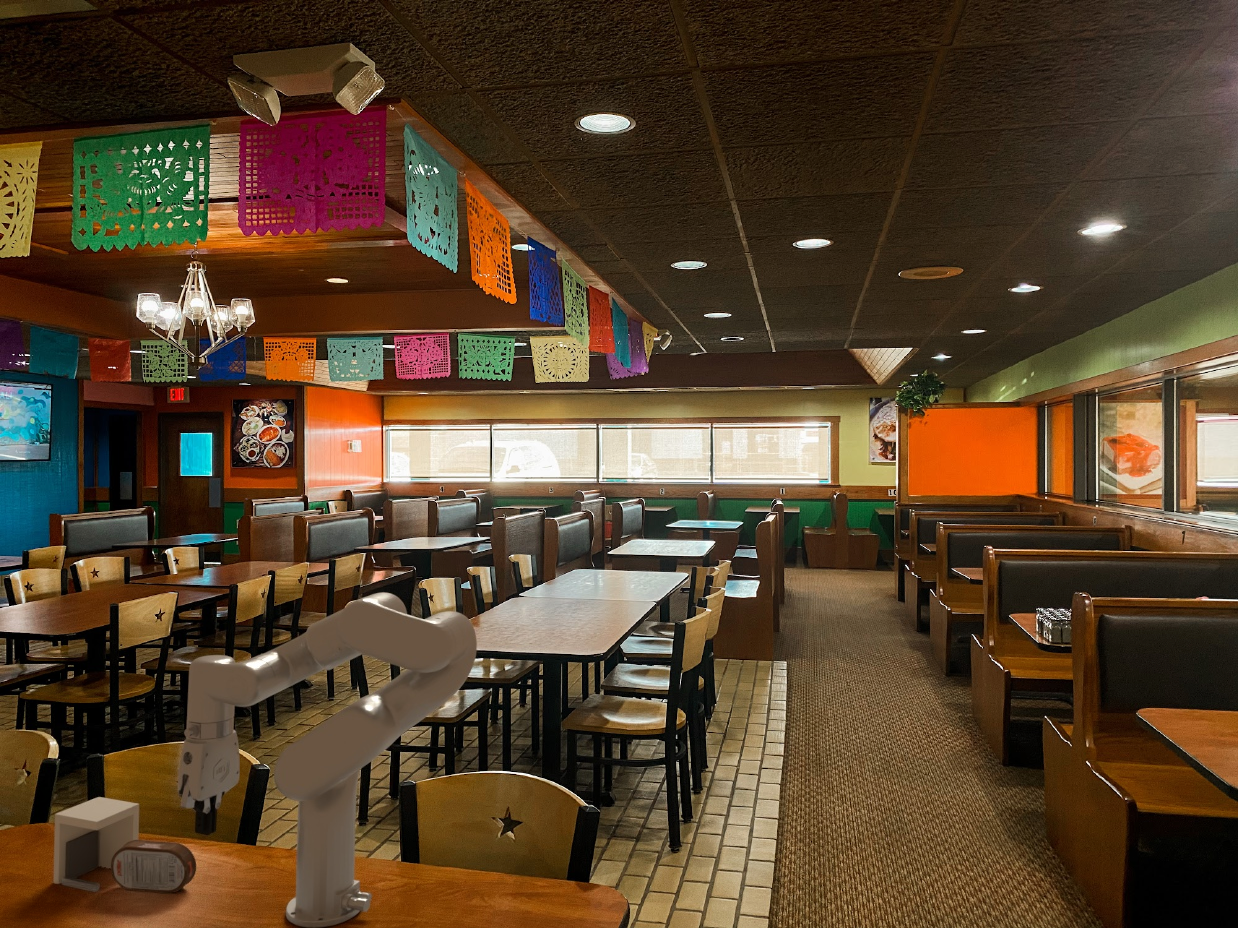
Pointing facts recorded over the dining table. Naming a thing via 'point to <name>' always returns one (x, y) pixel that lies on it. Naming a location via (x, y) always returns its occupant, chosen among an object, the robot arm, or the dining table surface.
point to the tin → (153, 866)
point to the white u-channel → (91, 838)
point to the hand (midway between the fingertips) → (205, 831)
